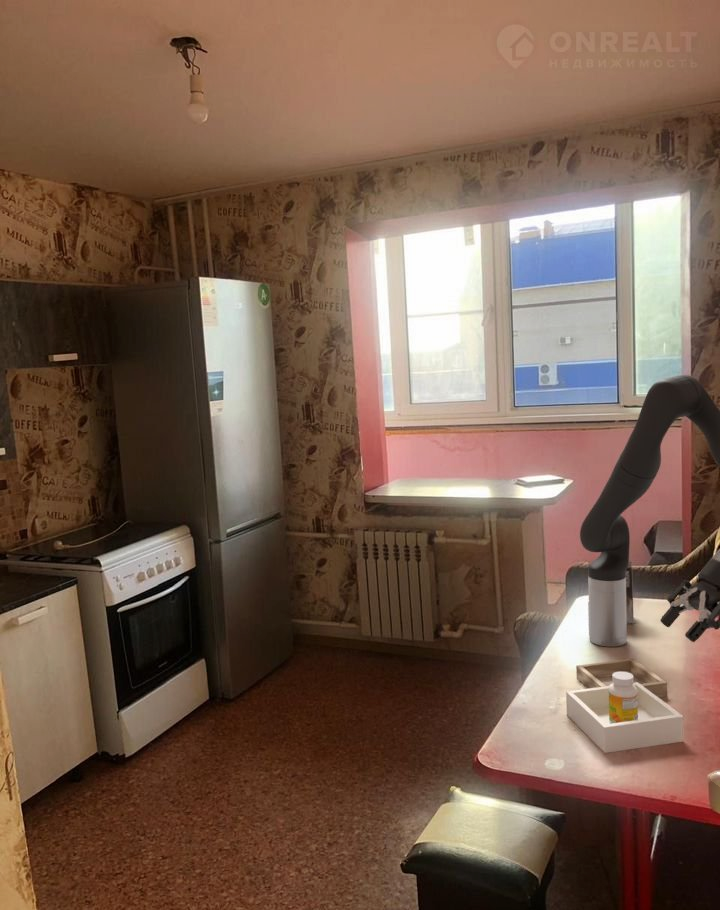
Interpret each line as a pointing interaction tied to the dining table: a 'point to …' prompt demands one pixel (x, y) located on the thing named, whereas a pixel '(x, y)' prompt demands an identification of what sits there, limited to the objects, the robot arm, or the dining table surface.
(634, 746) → the bin
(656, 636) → the dining table surface
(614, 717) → the supplement bottle
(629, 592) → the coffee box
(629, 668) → the frame
